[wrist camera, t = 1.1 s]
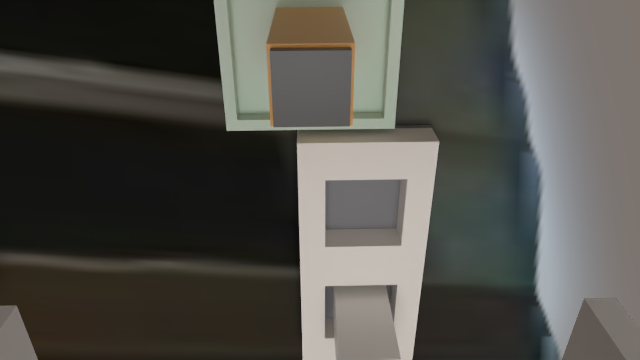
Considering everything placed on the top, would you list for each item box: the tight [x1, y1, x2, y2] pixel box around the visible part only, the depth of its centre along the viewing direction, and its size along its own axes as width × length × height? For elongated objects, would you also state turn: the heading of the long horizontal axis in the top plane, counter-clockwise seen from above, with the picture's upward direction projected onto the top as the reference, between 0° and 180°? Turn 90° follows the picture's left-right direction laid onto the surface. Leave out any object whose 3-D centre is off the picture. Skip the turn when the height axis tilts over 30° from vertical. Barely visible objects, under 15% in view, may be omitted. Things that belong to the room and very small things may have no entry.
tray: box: [214, 0, 404, 131], centre depth 34 cm, size 12×12×2 cm
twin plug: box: [333, 285, 401, 360], centre depth 41 cm, size 4×4×10 cm
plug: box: [266, 7, 355, 127], centre depth 30 cm, size 4×4×10 cm
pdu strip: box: [297, 125, 439, 360], centre depth 42 cm, size 22×10×3 cm, turn 0°
